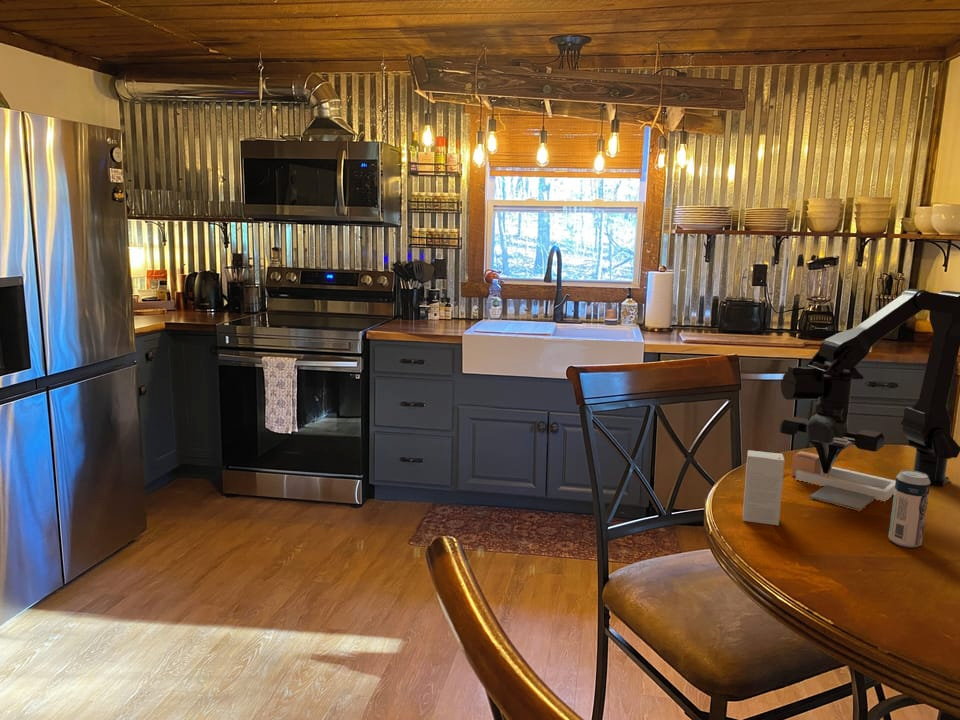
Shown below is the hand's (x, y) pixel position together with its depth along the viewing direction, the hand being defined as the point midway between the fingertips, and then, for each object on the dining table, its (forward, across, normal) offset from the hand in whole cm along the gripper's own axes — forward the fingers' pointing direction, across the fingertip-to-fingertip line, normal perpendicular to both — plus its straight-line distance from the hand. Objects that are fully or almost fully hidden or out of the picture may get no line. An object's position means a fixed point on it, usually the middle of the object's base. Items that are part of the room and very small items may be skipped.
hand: (825, 473), depth 148 cm
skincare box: (+2, -1, -31) cm, 31 cm away
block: (+2, -4, 0) cm, 4 cm away
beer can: (+2, +20, -23) cm, 30 cm away
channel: (+2, +4, 0) cm, 4 cm away
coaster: (+2, +6, -9) cm, 11 cm away
